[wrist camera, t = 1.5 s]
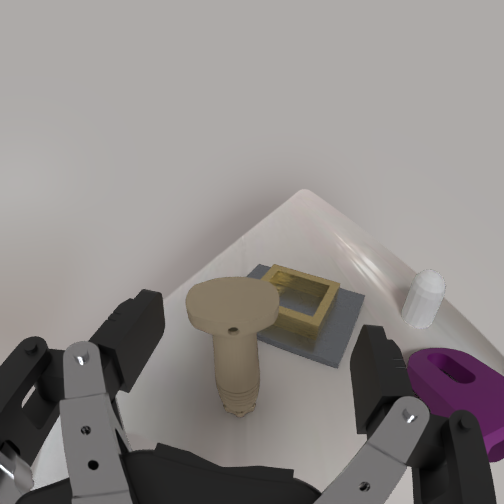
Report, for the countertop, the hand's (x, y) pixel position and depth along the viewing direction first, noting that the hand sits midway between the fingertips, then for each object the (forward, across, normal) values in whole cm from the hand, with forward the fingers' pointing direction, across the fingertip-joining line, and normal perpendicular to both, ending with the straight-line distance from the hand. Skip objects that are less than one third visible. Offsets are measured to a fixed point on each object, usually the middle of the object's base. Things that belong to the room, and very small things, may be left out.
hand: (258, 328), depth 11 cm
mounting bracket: (+8, -22, +18) cm, 30 cm away
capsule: (+25, -22, +16) cm, 37 cm away
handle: (+9, +1, +19) cm, 21 cm away
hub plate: (+25, -3, +17) cm, 30 cm away
